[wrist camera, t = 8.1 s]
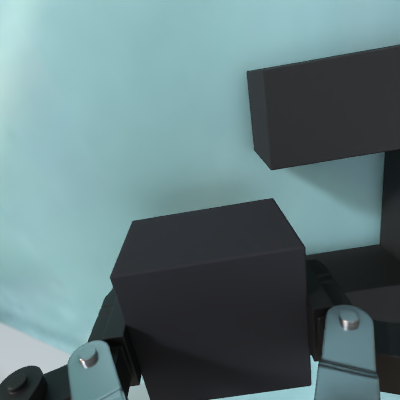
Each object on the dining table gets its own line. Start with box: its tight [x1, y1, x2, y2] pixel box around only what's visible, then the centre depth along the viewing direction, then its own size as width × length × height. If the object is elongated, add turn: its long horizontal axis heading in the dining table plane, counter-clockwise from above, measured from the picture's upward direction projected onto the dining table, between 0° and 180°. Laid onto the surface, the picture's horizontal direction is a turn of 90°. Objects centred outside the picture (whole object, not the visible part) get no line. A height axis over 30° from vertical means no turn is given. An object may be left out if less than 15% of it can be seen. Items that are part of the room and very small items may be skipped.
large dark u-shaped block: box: [247, 45, 400, 355], centre depth 17 cm, size 11×16×4 cm
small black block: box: [110, 198, 311, 400], centre depth 12 cm, size 6×6×4 cm
